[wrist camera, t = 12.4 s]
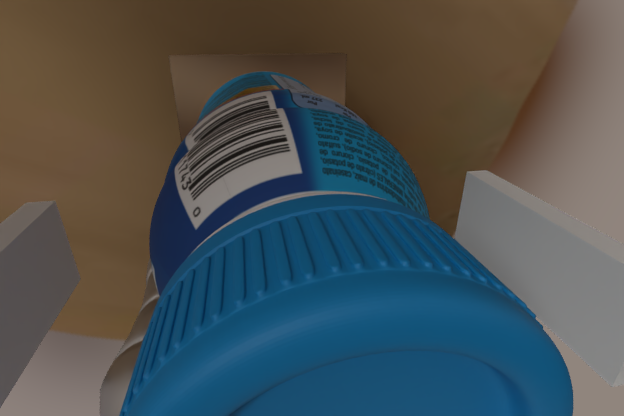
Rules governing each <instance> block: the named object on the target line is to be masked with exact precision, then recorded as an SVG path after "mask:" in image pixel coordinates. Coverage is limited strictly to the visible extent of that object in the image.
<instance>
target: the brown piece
mask: <svg viewBox="0 0 624 416" xmlns="http://www.w3.org/2000/svg"><path fill="white" fill-rule="evenodd" d="M346 61H347V54H344V53H311V54H215V55H170V56H169V62H170V69H171V76H172V82H173V89H174V95H175V102H176V108H177V115H178V122H179V128H180V135H181V141H183V140H184V138H185V137H186V135H187V134H188V133H189V132H190V131H191V129H192V128H193V127H194V126H195V125H196V124H197V122H198V119H199V117H200V114H201V112H202V110H203V108H204V106H205V104H206V103H207V101H208V100H209V98H210V97H211V96H212V95H213V93H214V92H215V91H216V90H217V89H219V88H220V87H221V86H222V85H224V84H225V83H226V82H228V81H230V80H232V79H233V78H236V77H238V76H241V75H243V74H247V73H252V72H261V71H267V72H276V73H281V74H284V75H287V76H290V77H292V78H294V79H296V80H298V81H300V82H302V83H303V84H305V85H306V86H307V87H309V88H310V89H311V90H312V91H313V92H314V93H316V94H319V95H322V96H325V97H328V98H330V99H332V100H334V101H336V102H338V103H340V104H342V105H344V106H345V92H346Z"/></svg>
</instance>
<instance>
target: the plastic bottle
mask: <svg viewBox="0 0 624 416" xmlns="http://www.w3.org/2000/svg"><path fill="white" fill-rule="evenodd" d="M159 298H160V297H159V294H158V291H157V288H156V285H155V281H154V277H153V272H152V266H151V260H150V259H149V262H148V267H147V275H146V290H145V294H144V299H143V304H142V307H141V309H140V312H139V315H138V316H137V319H136V321H135V323H134V325H133V328H132V330H131V332H130V334H129V336H128V337H127V339H126V341H125V343H124V345H123V346H122V348H121V349H120V351H119V353H118V354H117V356H116V358H115V360H114V361H113V363H112V365H111V366H110V368H109V370H108V372H107V374H106V376H105V378H104V380H103V383H102V386H101V389H100V416H119V415H120V411H121V408H122V405H123V402H124V399H125V396H126V392H127V389H128V386H129V383H130V380H131V377H132V373H133V370H134V367H135V364H136V361H137V358H138V354H139V351H140V348H141V345H142V342H143V338H144V336H145V335H146V332H147V329H148V326H149V323H150V320H151V317H152V314H153V311H154V309H155V306H156V304H157V302H158V300H159Z"/></svg>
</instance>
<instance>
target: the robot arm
mask: <svg viewBox="0 0 624 416" xmlns="http://www.w3.org/2000/svg"><path fill="white" fill-rule="evenodd" d="M454 239H455V240H456V241H457V242H458V243H459V244H460V245H461V246H463V247H464V248H465V249H466V250H467V251H469V252H470V253H471V254H472V255H473V256H474V257H475V258H476V259H477V260H478V261H479V262H480V263H481V264H483V265H484V266H485V267H486V268H487V269H488V270H489V271H490V272H491V273H492V274H493V275H495V276H496V277H497V278H498V279H499V280H500V281H501V282H502V283H503V284H504V285H505V286H506V287H508V288H509V289H510V290H511V291H512V292H513V293H514V294H515V295H516V296H517V297H518V298H520V299H521V300H522V301H523V302H524V303H525V304H526V305H527V308H529V309H530V310H531V311H532V312H533V313H534V314H535V315H536V317H537V318H538V319H540V320H541V321H542V322H543V323H544V324H545V325H546V326H547V327H548V328H549V329H551V331H552V332H553V333H555V334H556V335H557V336H558V337H559V338H560V339H561V340H562V341H563V342H564V343H565V344H567V346H568V347H570V348H571V349H572V350H573V351H574V352H575V353H576V354H577V355H578V356H579V357H580V358H581V359H582V360H584V361H585V362H586V363H587V364H588V365H589V366H590V367H591V368H592V369H593V370H594V371H595V372H596V373H597V374H599V375H600V376H601V377H602V378H603V379H604V380H605V381H606V382H607V383H608V384H609V385H610V386H611V387H614V386H620V385H624V244H623V243H621V242H619V241H617V240H615V239H613V238H612V237H610V236H608V235H606V234H604V233H602V232H600V231H599V230H597V229H595V228H593V227H591V226H589V225H587V224H586V223H584V222H582V221H580V220H578V219H576V218H575V217H572V216H570V215H569V214H567V213H565V212H563V211H561V210H560V209H558V208H556V207H554V206H552V205H550V204H548V203H547V202H545V201H543V200H541V199H539V198H537V197H536V196H534V195H532V194H530V193H528V192H526V191H524V190H523V189H521V188H519V187H517V186H515V185H513V184H511V183H509V182H508V181H506V180H504V179H502V178H500V177H498V176H497V175H495V174H493V173H491V172H489V171H487V170H482V171H468V172H467V174H466V179H465V185H464V190H463V196H462V201H461V206H460V212H459V217H458V222H457V228H456V233H455V238H454ZM79 281H80V276H79V272H78V269H77V266H76V263H75V260H74V257H73V254H72V251H71V248H70V245H69V242H68V239H67V236H66V232H65V229H64V226H63V223H62V220H61V217H60V214H59V211H58V208H57V205H56V202H55V201H46V202H32V203H25V204H24V205H23V206H22V207H20V208H19V209H18V210H17V211H15V212H14V213H13V214H12V215H10V216H9V217H8V218H7V219H6V220H4V221H3V222H2V223H1V224H0V407H1V406H2V404H3V403H4V401H5V399H6V398H7V396H8V395H9V393H10V391H11V390H12V388H13V386H14V385H15V383H16V382H17V380H18V378H19V377H20V375H21V374H22V372H23V371H24V369H25V367H26V366H27V364H28V363H29V361H30V359H31V358H32V356H33V354H34V353H35V351H36V350H37V348H38V346H39V344H40V343H41V342H42V340H43V338H44V337H45V335H46V334H47V332H48V330H49V329H50V327H51V326H52V324H53V322H54V321H55V319H56V318H57V316H58V314H59V313H60V311H61V310H62V308H63V306H64V305H65V303H66V302H67V300H68V298H69V297H70V295H71V294H72V292H73V290H74V289H75V287H76V286H77V284H78V282H79Z"/></svg>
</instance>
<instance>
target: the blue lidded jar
mask: <svg viewBox="0 0 624 416" xmlns="http://www.w3.org/2000/svg"><path fill="white" fill-rule="evenodd" d="M149 245H150V260H151V266H152V272H153V277H154V281H155V285H156V288H157V291H158V294H159V297H160V298H159V300H158V302H157V304H156V306H155V309H154V311H153V314H152V317H151V320H150V323H149V326H148V329H147V332H146V335H145V336H144V338H143V342H142V345H141V348H140V351H139V354H138V358H137V361H136V364H135V367H134V370H133V373H132V377H131V380H130V383H129V386H128V389H127V392H126V396H125V399H124V402H123V405H122V408H121V411H120V415H119V416H572V414H573V390H572V384H571V379H570V376H569V372H568V369H567V366H566V364H565V362H564V360H563V357H562V355H561V354H560V352H559V350H558V349H557V347H556V345H555V344H554V343H553V341H552V340H551V338H550V337H549V336H548V335H547V333H546V332H545V331H544V330H543V326H542V325H541V324H540V323H539V322H538V321H537V320H536V319H535V317H536V315H535V314H534V313H533V312H532V311H531V310H530V309H529V308H527V305H526V304H525V303H524V302H523V301H522V300H521V299H520V298H518V297H517V296H516V295H515V294H514V293H513V292H512V291H511V290H510V289H509V288H508V287H506V286H505V285H504V284H503V283H502V282H501V281H500V280H499V279H498V278H497V277H496V276H495V275H493V274H492V273H491V272H490V271H489V270H488V269H487V268H486V267H485V266H484V265H483V264H481V263H480V262H479V261H478V260H477V259H476V258H475V257H474V256H473V255H472V254H471V253H470V252H469V251H467V250H466V249H465V248H464V247H463V246H461V245H460V244H459V243H458V242H457V241H456V240H455V239H453V238H452V237H451V236H450V235H449V234H448V233H446V232H445V231H444V230H443V229H442V228H440V227H439V226H438V225H437V224H435V223H434V222H432V221H431V220H430V218H429V213H428V209H427V205H426V202H425V199H424V196H423V193H422V191H421V188H420V186H419V184H418V181H417V179H416V177H415V175H414V174H413V172H412V170H411V168H410V167H409V165H408V164H407V162H406V161H405V160H404V158H403V157H402V156H401V154H400V153H399V152H398V151H397V150H396V149H395V148H394V147H393V146H392V145H391V144H390V143H389V142H388V141H387V140H386V139H385V138H384V137H382V136H381V135H380V134H378V133H377V132H376V131H374V130H373V129H371V128H370V126H369V125H368V124H367V123H366V122H365V121H363V120H362V119H361V118H360V117H359V116H358V115H356V114H355V113H354V112H353V111H351V110H350V109H348V108H347V107H345V106H344V105H342V104H340V103H338V102H336V101H334V100H332V99H330V98H328V97H325V96H322V95H319V94H316V93H314V92H313V91H312V90H311V89H310V88H309V87H307V86H306V85H305V84H303V83H302V82H300V81H298V80H296V79H294V78H292V77H290V76H287V75H284V74H281V73H276V72H267V71H261V72H252V73H247V74H243V75H241V76H238V77H236V78H233V79H232V80H230V81H228V82H226V83H225V84H224V85H222V86H221V87H220V88H219V89H217V90H216V91H215V92H214V93H213V95H212V96H211V97H210V98H209V100H208V101H207V103H206V104H205V106H204V108H203V110H202V112H201V114H200V117H199V119H198V122H197V124H196V125H195V126H194V127H193V128H192V129H191V131H190V132H189V133H188V134H187V135H186V137H185V138H184V140H183V141H182V143H181V144H180V146H179V147H178V149H177V151H176V153H175V155H174V157H173V159H172V161H171V164H170V166H169V169H168V172H167V175H166V179H165V183H164V186H163V188H162V190H161V192H160V194H159V197H158V199H157V202H156V205H155V208H154V212H153V216H152V221H151V228H150V244H149Z"/></svg>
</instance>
